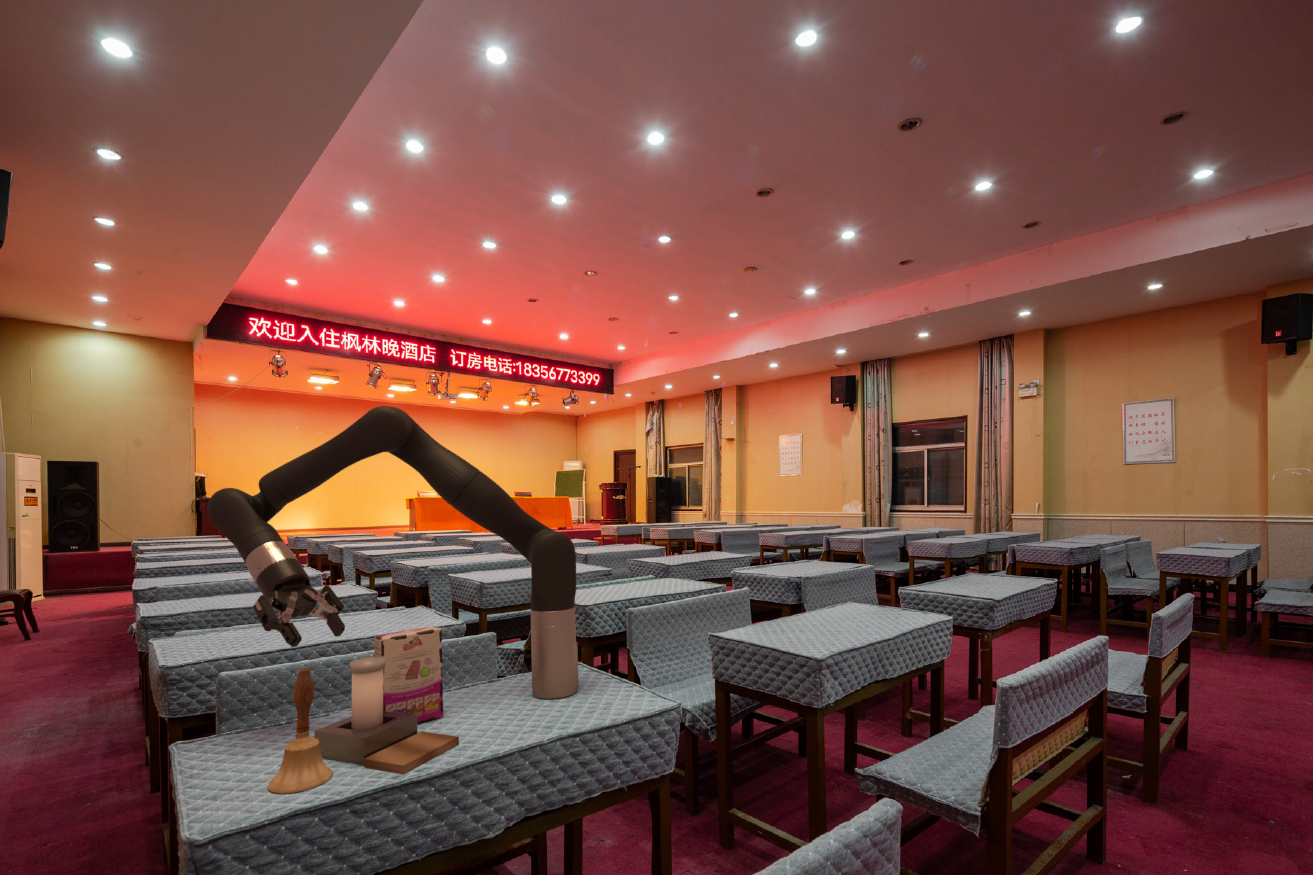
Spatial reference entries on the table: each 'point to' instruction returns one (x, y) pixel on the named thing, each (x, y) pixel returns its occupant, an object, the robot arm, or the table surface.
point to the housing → (364, 737)
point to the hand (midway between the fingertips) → (320, 638)
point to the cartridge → (367, 693)
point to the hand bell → (301, 747)
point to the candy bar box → (412, 672)
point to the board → (411, 752)
